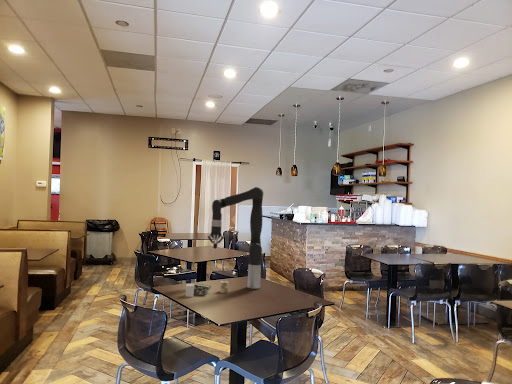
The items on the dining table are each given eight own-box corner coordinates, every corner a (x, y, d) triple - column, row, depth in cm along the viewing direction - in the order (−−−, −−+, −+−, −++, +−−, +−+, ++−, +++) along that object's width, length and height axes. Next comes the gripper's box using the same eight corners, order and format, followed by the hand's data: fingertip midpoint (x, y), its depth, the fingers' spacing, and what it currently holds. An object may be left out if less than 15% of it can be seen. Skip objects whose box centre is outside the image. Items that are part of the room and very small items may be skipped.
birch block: (227, 291, 253) (227, 281, 253) (227, 293, 248) (228, 282, 248) (220, 291, 252) (220, 281, 253) (220, 292, 247) (221, 282, 248)
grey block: (193, 294, 238) (194, 284, 238) (193, 296, 233) (193, 286, 233) (185, 294, 237) (186, 284, 237) (185, 296, 232) (186, 285, 232)
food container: (194, 292, 248) (189, 293, 238) (196, 283, 249) (191, 284, 239) (211, 295, 245) (207, 296, 236) (213, 286, 246) (208, 287, 237)
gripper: (207, 225, 270) (206, 248, 269) (225, 226, 272) (224, 249, 271) (207, 225, 278) (206, 247, 277) (224, 225, 279) (223, 248, 279)
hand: (215, 248), depth 274 cm, fingers closed
